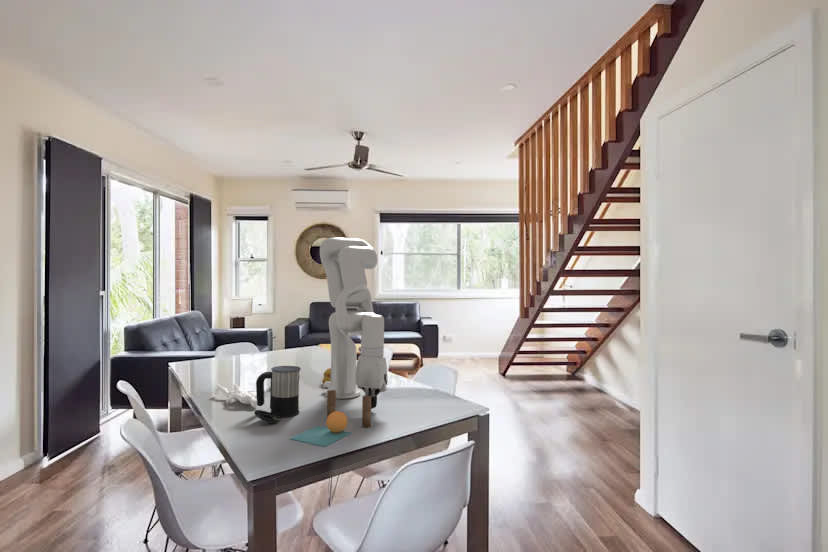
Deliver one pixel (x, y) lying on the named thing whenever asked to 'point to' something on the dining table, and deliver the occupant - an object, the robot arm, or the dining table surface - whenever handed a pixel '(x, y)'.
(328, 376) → the bread roll
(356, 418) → the dining table surface
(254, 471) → the dining table surface
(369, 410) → the post
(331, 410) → the post
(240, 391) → the white crumpled cloth
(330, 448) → the dining table surface
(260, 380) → the milk frother
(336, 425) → the ball
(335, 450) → the dining table surface
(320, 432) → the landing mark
